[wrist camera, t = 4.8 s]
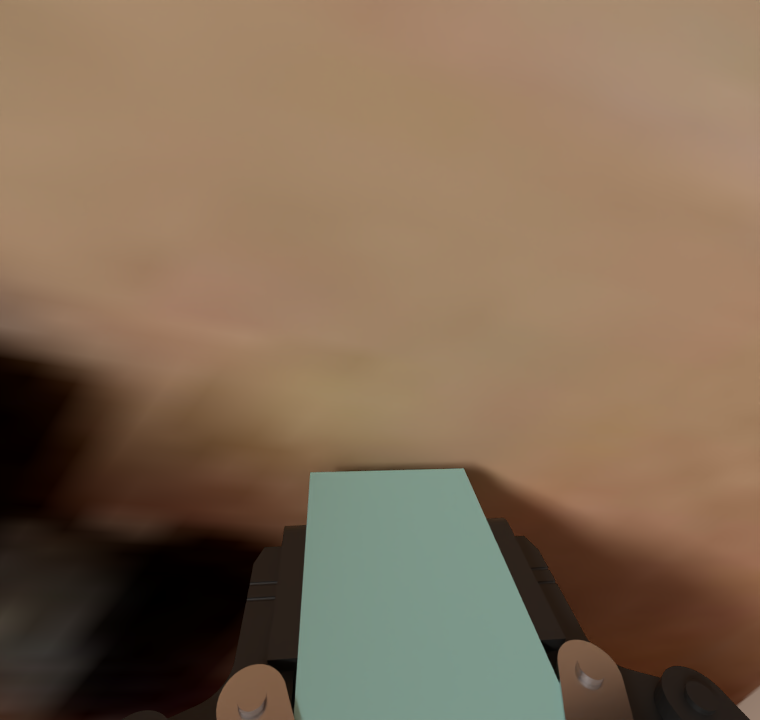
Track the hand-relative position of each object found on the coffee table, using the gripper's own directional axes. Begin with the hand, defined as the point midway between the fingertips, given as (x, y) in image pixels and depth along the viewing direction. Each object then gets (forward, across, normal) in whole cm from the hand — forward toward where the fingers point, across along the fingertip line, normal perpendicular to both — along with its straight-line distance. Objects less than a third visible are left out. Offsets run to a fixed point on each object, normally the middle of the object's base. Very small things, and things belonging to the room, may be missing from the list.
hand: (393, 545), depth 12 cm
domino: (+2, 0, 0) cm, 2 cm away
